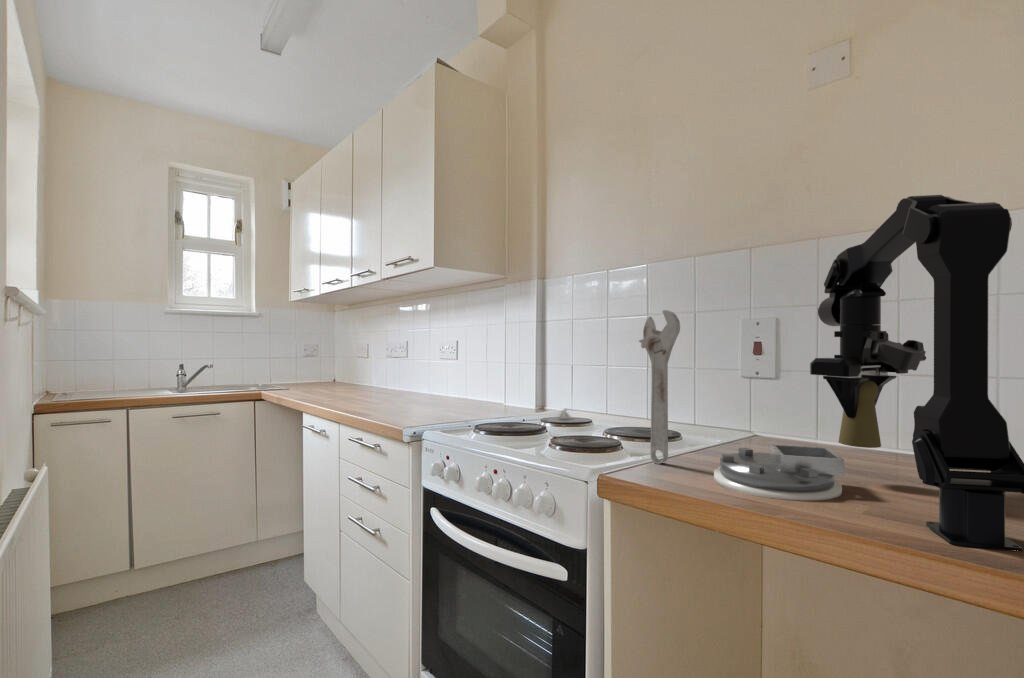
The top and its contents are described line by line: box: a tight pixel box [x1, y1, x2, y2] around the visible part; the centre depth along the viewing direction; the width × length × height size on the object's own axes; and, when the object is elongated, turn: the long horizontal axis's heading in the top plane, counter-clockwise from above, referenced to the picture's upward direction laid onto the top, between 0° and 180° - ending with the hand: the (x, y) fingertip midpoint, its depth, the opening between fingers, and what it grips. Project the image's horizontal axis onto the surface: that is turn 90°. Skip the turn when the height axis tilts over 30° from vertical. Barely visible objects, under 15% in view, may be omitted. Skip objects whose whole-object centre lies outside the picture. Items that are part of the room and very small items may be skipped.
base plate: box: [713, 466, 843, 501], centre depth 84 cm, size 19×19×1 cm
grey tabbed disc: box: [719, 443, 845, 492], centre depth 84 cm, size 17×17×4 cm
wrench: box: [638, 309, 681, 465], centre depth 98 cm, size 8×2×30 cm, turn 46°
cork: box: [838, 380, 882, 449], centre depth 85 cm, size 6×6×11 cm
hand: (859, 416), depth 85 cm, fingers closed on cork, 4 cm apart
